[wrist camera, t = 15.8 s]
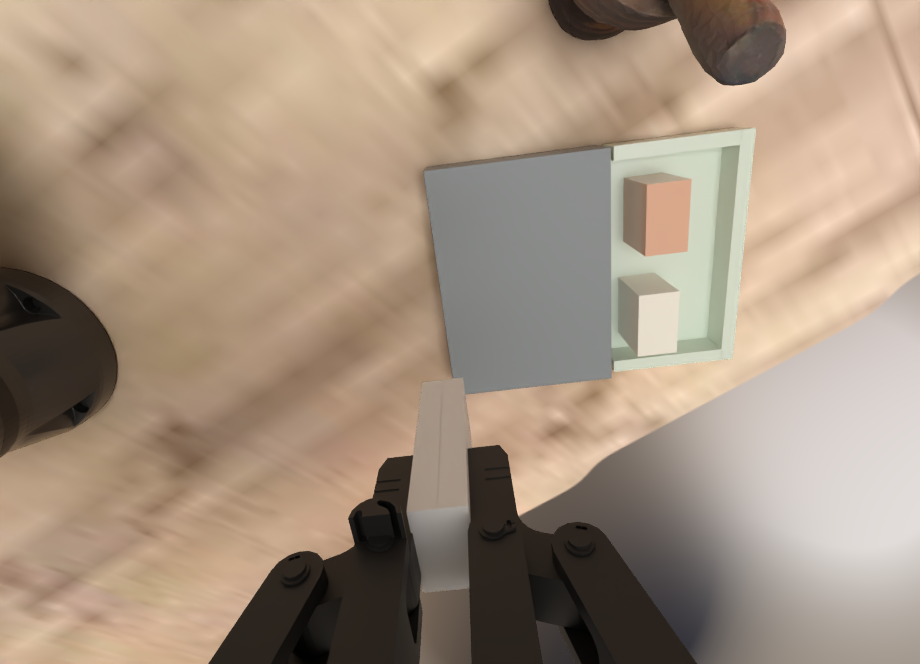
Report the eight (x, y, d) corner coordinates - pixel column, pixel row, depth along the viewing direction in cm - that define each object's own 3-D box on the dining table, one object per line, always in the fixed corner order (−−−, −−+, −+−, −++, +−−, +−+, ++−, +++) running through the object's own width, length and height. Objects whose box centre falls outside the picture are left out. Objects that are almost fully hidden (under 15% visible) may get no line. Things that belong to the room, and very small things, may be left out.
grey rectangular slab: (455, 373, 45) (455, 395, 41) (426, 167, 38) (423, 171, 35) (598, 357, 45) (611, 378, 41) (595, 145, 38) (610, 147, 34)
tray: (604, 356, 45) (613, 371, 42) (601, 144, 38) (613, 146, 35) (715, 344, 44) (732, 358, 42) (733, 127, 37) (755, 127, 35)
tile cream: (637, 356, 39) (676, 352, 38) (638, 296, 37) (679, 291, 37) (618, 331, 43) (652, 327, 43) (618, 276, 41) (654, 272, 41)
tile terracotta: (645, 256, 36) (687, 251, 35) (646, 184, 34) (691, 179, 33) (623, 241, 40) (660, 236, 40) (623, 177, 38) (662, 172, 38)
